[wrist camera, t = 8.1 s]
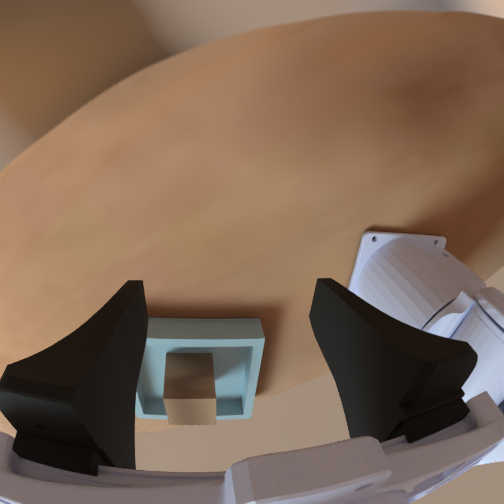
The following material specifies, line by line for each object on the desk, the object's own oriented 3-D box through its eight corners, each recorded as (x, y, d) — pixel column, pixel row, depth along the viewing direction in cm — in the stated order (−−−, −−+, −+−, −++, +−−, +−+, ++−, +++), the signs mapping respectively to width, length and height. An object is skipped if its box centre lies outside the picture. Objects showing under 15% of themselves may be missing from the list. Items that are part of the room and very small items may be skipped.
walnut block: (212, 352, 25) (216, 398, 21) (212, 381, 27) (216, 424, 22) (166, 352, 24) (162, 398, 20) (170, 381, 26) (169, 424, 22)
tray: (259, 318, 25) (265, 338, 23) (247, 399, 30) (250, 418, 28) (119, 315, 23) (113, 336, 21) (139, 399, 28) (137, 417, 26)
